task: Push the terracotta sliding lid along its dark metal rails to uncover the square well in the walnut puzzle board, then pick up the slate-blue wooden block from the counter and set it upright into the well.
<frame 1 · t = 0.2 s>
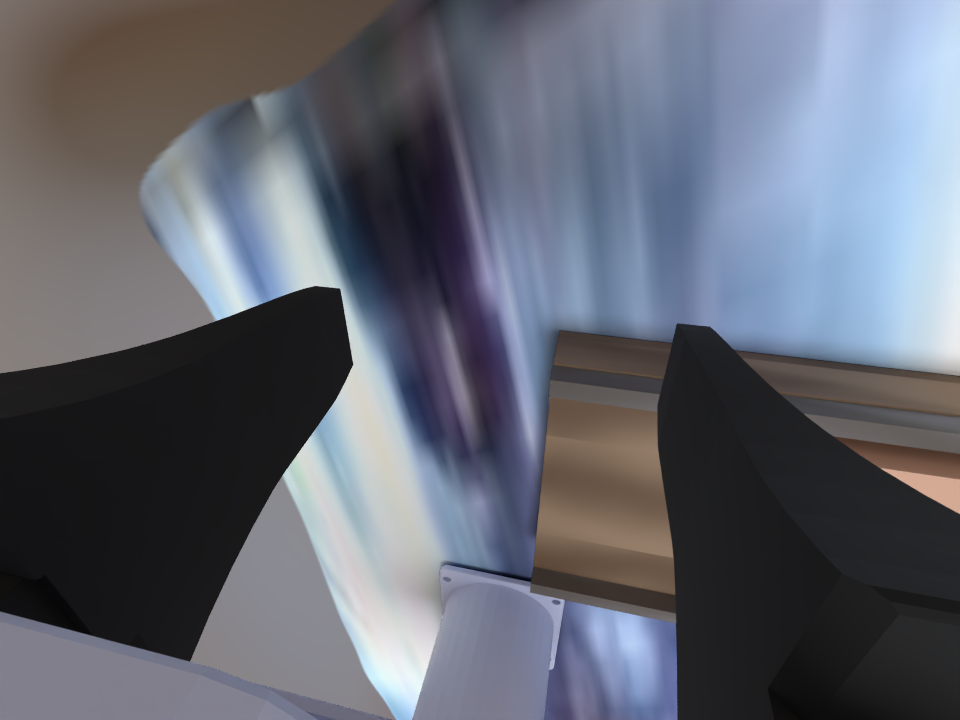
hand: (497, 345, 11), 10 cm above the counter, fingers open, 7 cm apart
lid: (859, 558, 21), point 3 cm above the counter, slide at 0.0 cm
board: (761, 484, 24), on the counter
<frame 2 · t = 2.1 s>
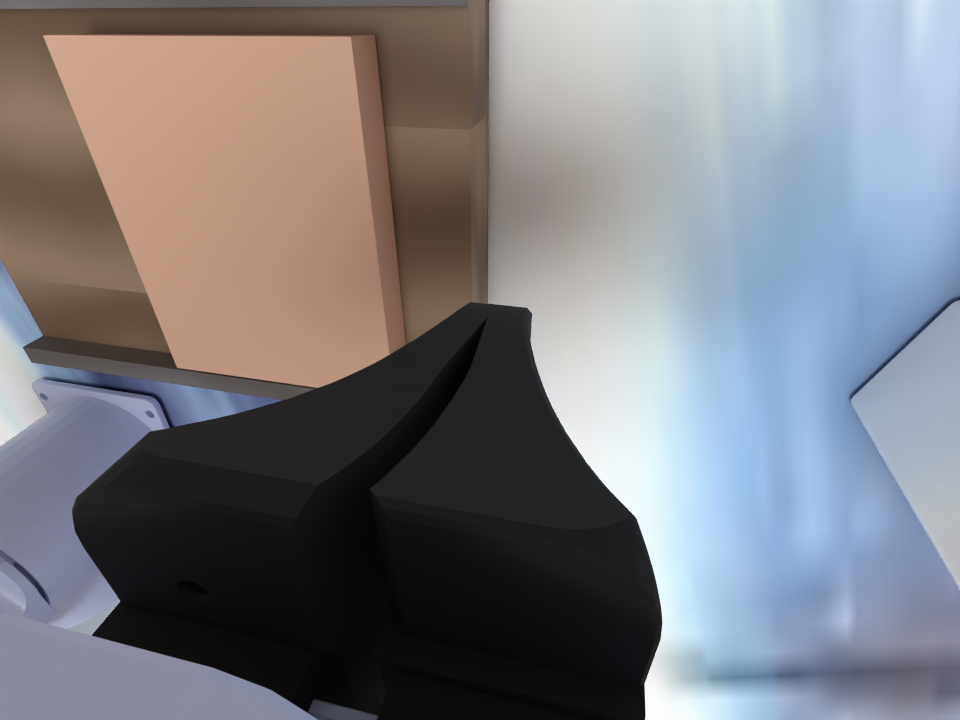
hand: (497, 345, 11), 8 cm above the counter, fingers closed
lid: (256, 233, 17), point 3 cm above the counter, slide at 0.0 cm
board: (236, 198, 20), on the counter
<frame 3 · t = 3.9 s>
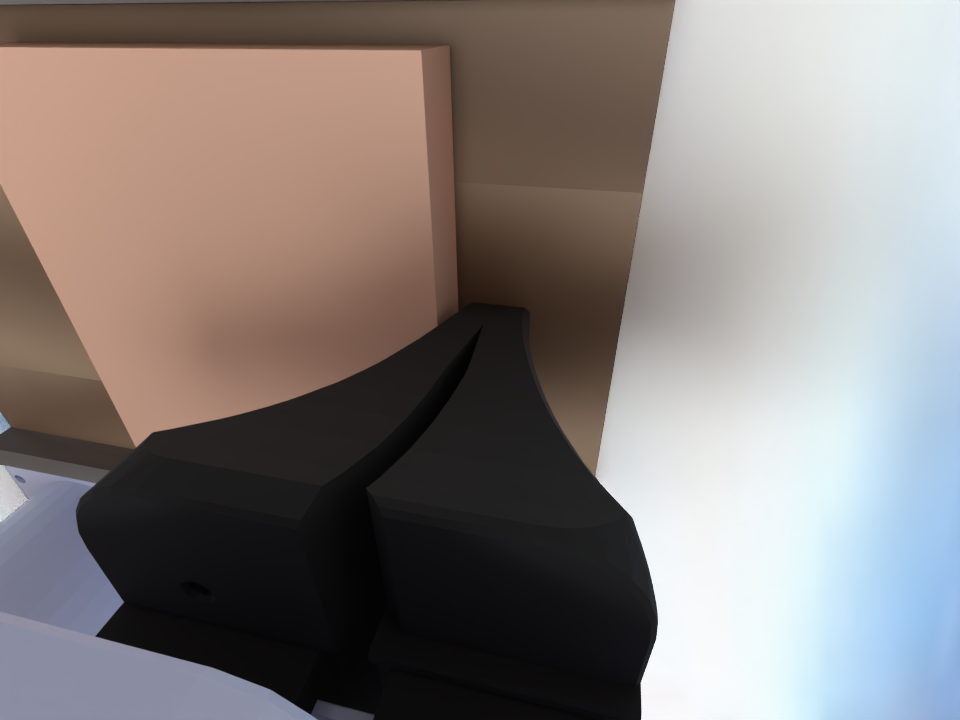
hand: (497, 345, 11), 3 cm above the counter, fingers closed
lid: (261, 326, 12), point 3 cm above the counter, slide at 1.0 cm, touching gripper
board: (263, 261, 15), on the counter
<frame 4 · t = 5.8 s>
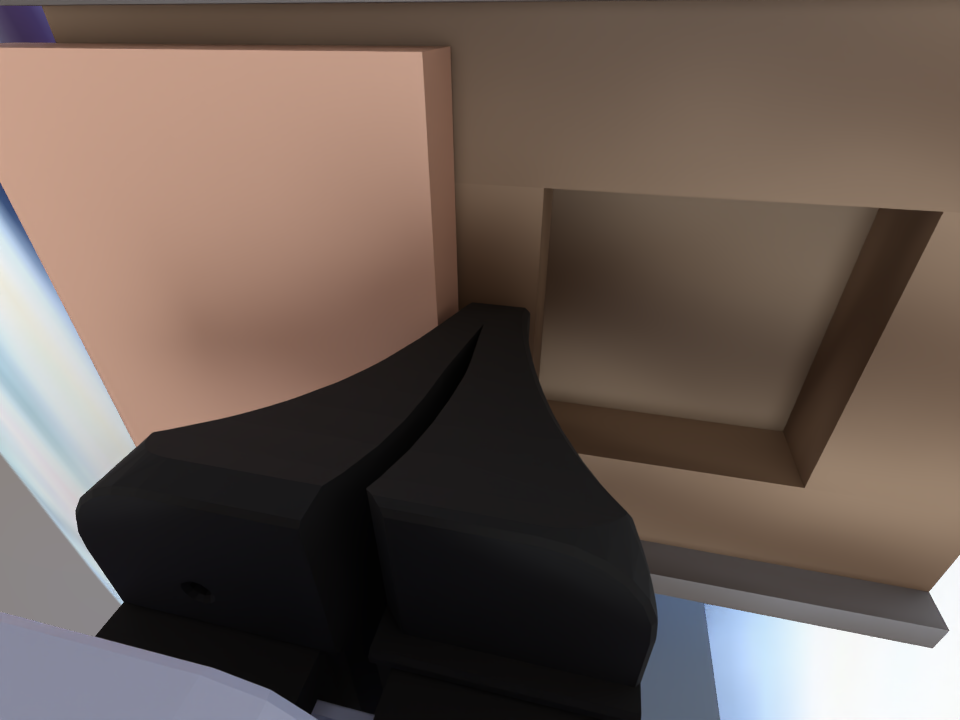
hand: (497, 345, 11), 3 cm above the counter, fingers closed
lid: (261, 326, 12), point 3 cm above the counter, slide at 9.4 cm, touching gripper
board: (557, 289, 13), on the counter
block: (634, 602, 20), on the counter
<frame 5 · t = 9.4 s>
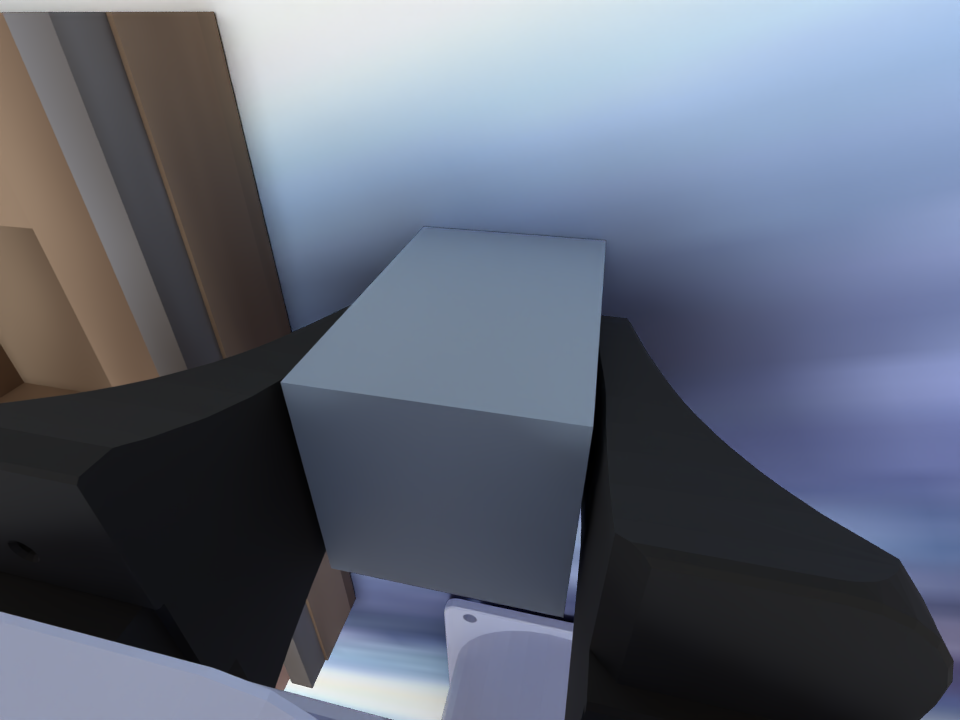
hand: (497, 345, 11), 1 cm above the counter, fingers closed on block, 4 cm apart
lid: (113, 587, 18), point 3 cm above the counter, slide at 9.5 cm
board: (115, 380, 17), on the counter
block: (509, 314, 12), on the counter, touching gripper
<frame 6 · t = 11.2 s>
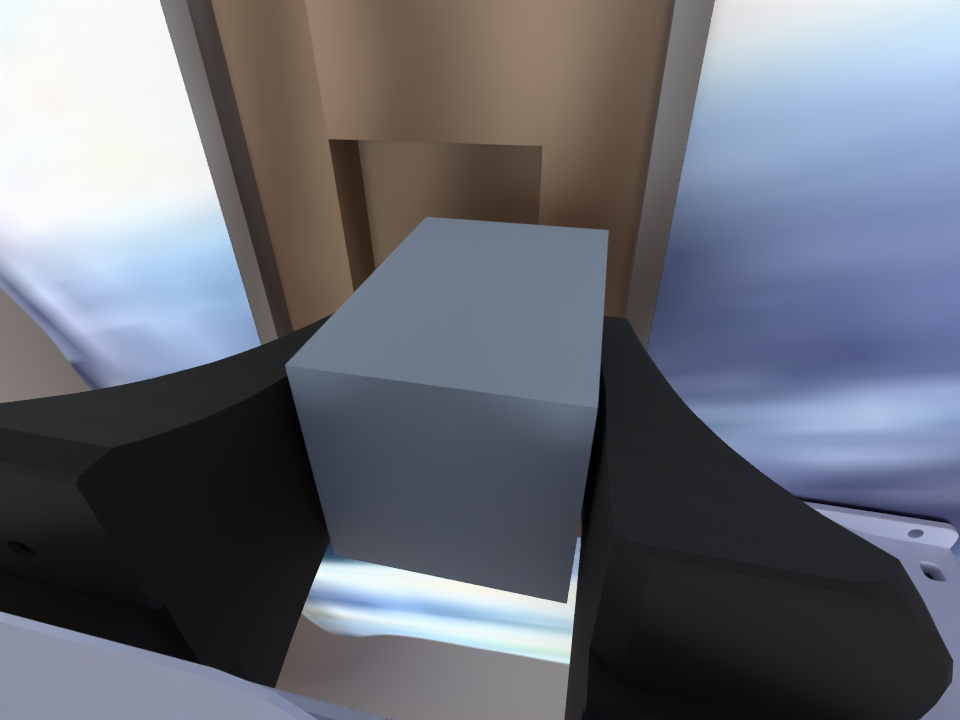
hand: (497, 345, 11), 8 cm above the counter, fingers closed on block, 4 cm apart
board: (460, 297, 20), on the counter
block: (511, 305, 12), point 7 cm above the counter, touching gripper
when the fingers open (3 cm above the counter, at t = 12.8 s): block drops 1 cm, resting on board.
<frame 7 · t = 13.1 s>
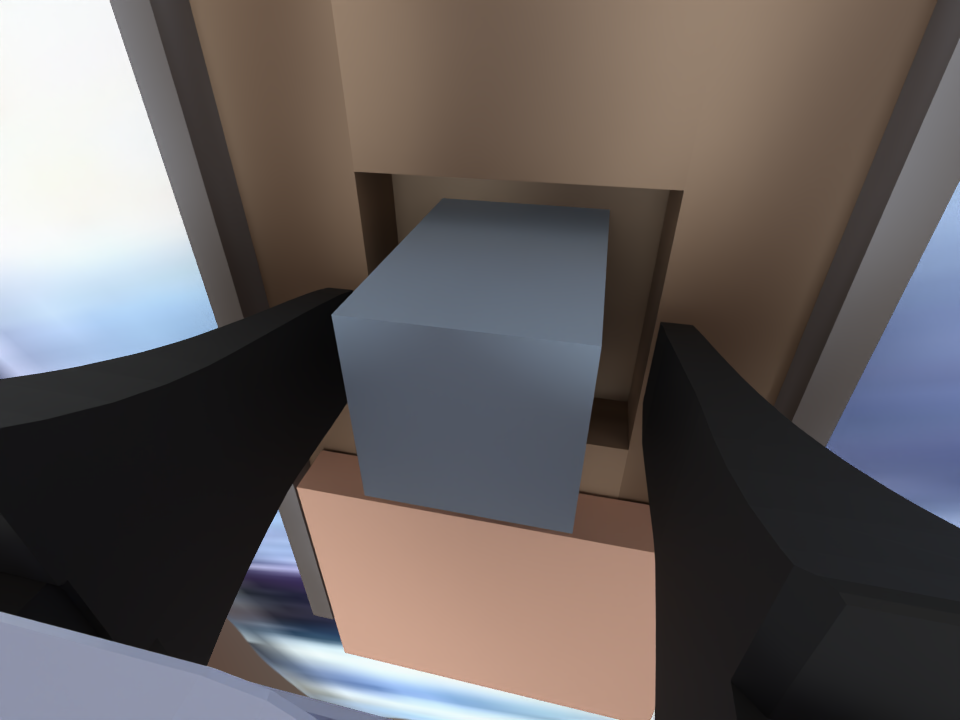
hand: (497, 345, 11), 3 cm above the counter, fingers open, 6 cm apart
lid: (493, 595, 17), point 3 cm above the counter, slide at 9.5 cm
board: (518, 370, 16), on the counter
block: (520, 280, 13), resting on board
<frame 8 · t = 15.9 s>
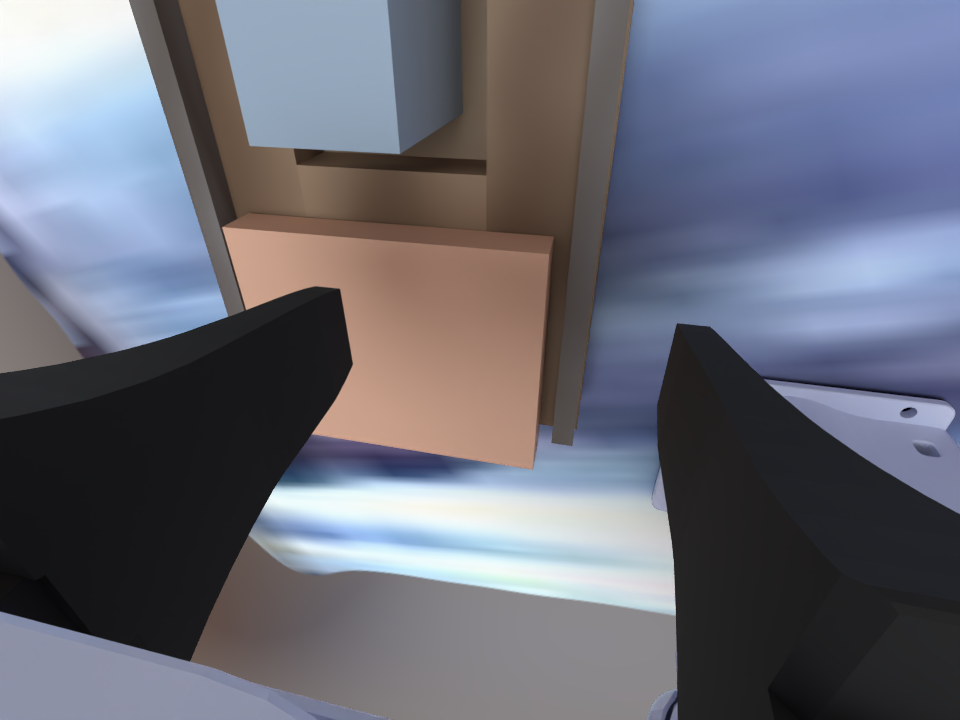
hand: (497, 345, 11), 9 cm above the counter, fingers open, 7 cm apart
lid: (396, 347, 19), point 3 cm above the counter, slide at 9.5 cm
board: (412, 145, 19), on the counter
block: (400, 42, 16), resting on board
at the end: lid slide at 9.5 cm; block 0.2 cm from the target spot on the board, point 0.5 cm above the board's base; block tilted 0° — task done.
